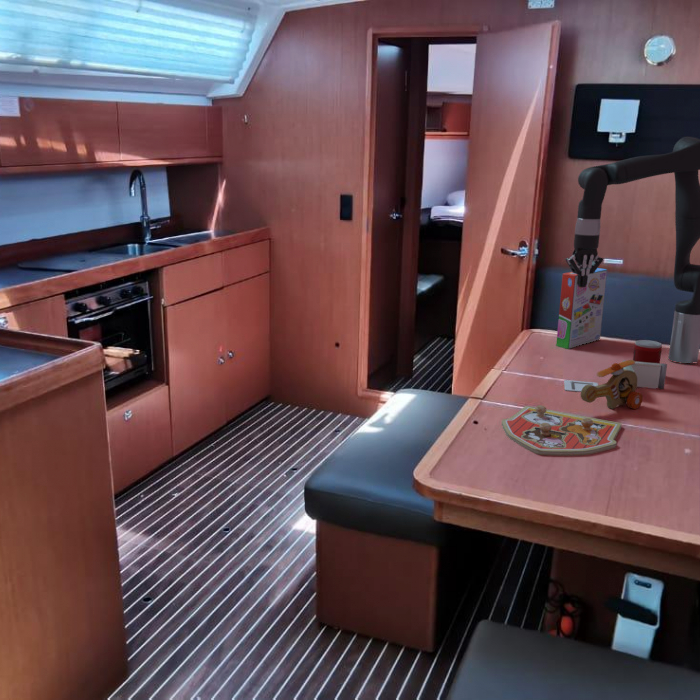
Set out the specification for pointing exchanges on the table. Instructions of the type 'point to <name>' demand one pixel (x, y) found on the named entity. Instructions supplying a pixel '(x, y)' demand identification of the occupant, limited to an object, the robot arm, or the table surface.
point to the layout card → (576, 385)
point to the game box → (581, 309)
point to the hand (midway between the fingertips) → (581, 286)
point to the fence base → (650, 374)
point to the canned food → (647, 351)
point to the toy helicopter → (615, 387)
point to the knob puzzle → (560, 432)
